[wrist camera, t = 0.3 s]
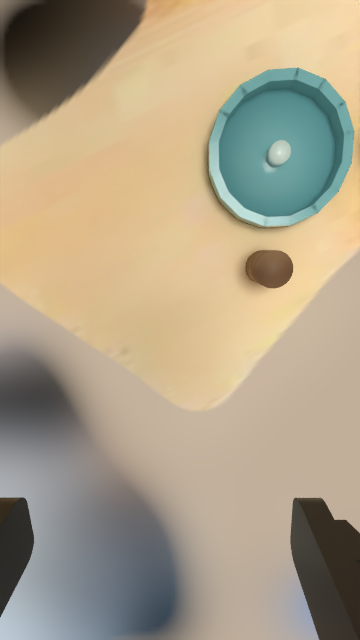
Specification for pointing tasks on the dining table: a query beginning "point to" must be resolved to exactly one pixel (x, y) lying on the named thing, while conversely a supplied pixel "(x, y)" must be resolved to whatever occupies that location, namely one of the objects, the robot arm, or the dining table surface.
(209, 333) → the dining table surface
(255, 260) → the walnut bead
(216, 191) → the groove tray
